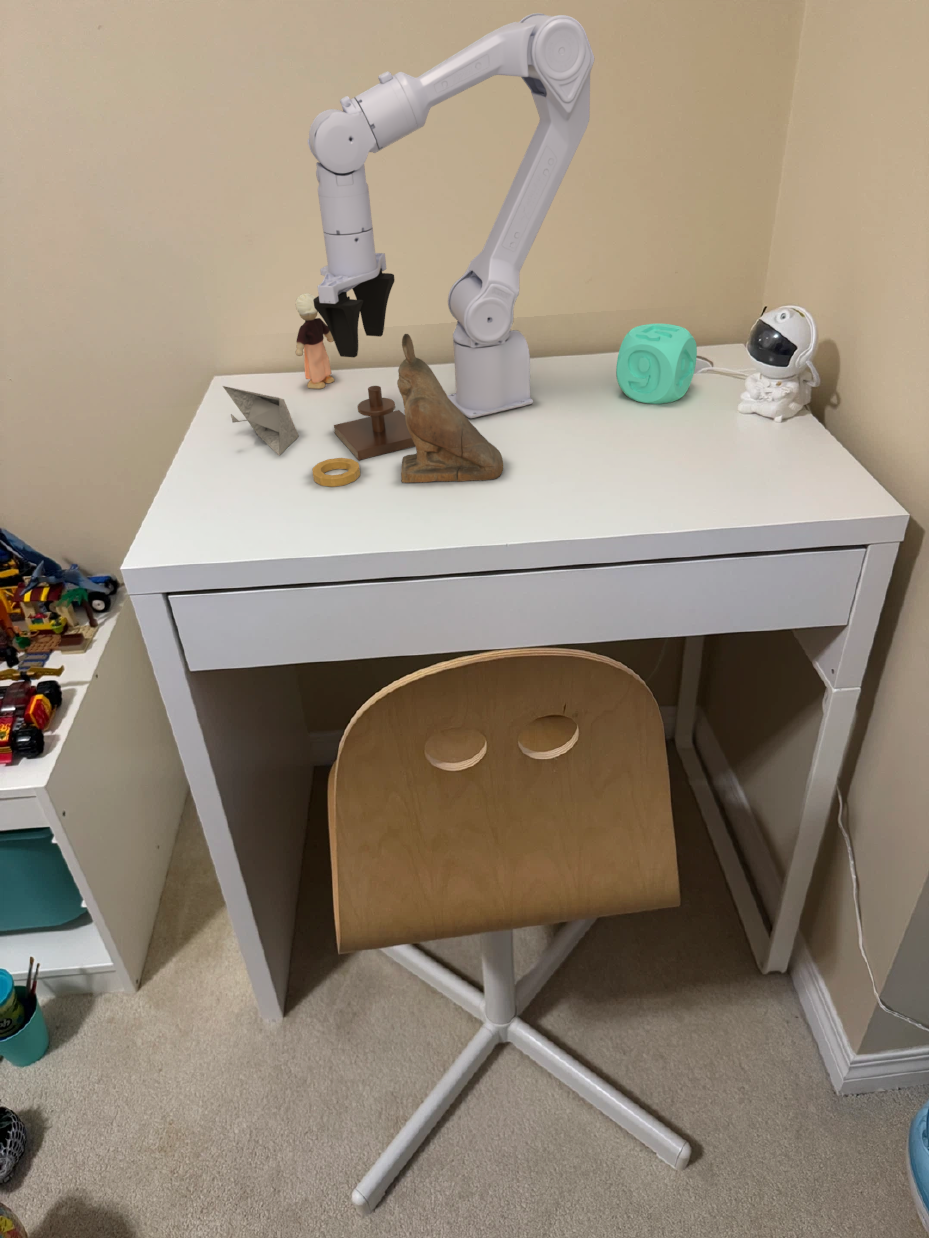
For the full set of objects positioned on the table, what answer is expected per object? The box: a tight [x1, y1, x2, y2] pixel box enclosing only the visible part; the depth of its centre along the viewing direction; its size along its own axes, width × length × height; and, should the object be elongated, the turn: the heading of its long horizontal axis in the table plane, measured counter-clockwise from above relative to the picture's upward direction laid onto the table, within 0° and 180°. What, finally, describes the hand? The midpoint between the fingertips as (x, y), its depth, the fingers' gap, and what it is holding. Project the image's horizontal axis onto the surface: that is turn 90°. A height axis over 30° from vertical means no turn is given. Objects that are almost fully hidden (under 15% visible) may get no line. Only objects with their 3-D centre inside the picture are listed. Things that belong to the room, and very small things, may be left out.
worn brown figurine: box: [396, 333, 504, 484], centre depth 100 cm, size 12×6×18 cm, turn 87°
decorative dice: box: [615, 323, 698, 405], centre depth 118 cm, size 8×8×8 cm
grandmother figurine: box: [295, 292, 335, 390], centre depth 125 cm, size 8×4×13 cm, turn 160°
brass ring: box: [312, 457, 361, 488], centre depth 105 cm, size 6×6×1 cm
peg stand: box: [333, 385, 416, 461], centre depth 111 cm, size 9×9×7 cm
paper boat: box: [222, 385, 300, 457], centre depth 112 cm, size 12×6×9 cm
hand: (361, 345), depth 112 cm, fingers open, 7 cm apart
